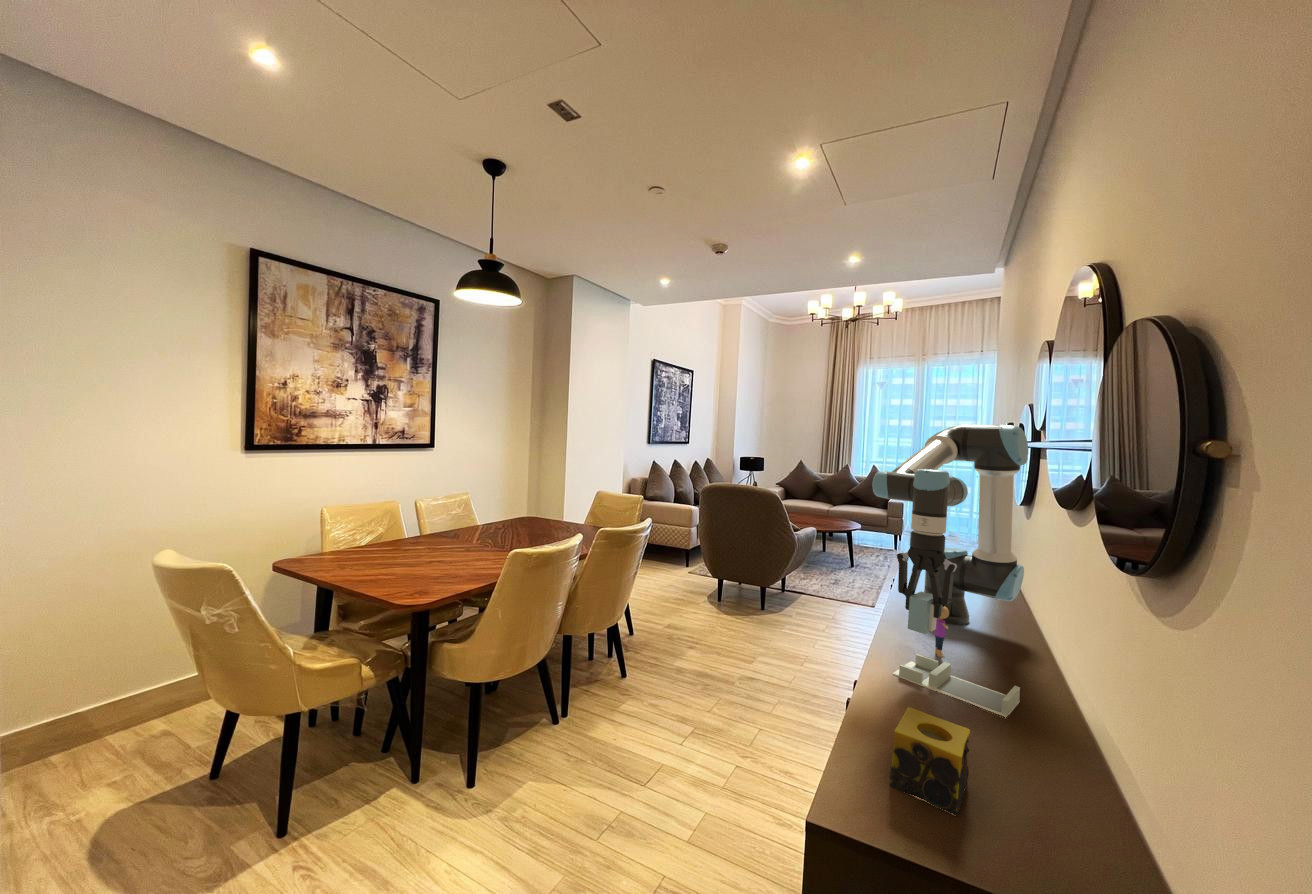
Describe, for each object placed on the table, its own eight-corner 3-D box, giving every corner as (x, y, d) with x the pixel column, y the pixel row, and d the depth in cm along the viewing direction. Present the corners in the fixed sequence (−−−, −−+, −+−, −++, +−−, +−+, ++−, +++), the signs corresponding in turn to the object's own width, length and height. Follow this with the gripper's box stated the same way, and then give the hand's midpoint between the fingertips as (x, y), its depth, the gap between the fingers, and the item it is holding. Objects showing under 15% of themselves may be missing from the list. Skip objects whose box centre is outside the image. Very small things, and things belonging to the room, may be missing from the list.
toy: (953, 665, 131) (956, 608, 130) (930, 662, 132) (933, 605, 131) (938, 648, 141) (942, 595, 140) (917, 646, 142) (921, 593, 141)
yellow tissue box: (903, 759, 91) (906, 705, 90) (968, 786, 84) (972, 728, 84) (887, 788, 83) (891, 729, 82) (958, 821, 76) (962, 756, 76)
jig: (910, 663, 130) (911, 649, 130) (1019, 702, 113) (1020, 686, 113) (892, 675, 123) (893, 661, 123) (1006, 719, 106) (1007, 702, 105)
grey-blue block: (918, 622, 127) (920, 591, 127) (935, 627, 124) (937, 595, 124) (907, 628, 123) (909, 596, 122) (925, 634, 120) (927, 601, 119)
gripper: (886, 527, 127) (880, 619, 127) (961, 540, 114) (955, 642, 115) (898, 525, 132) (893, 613, 132) (972, 537, 119) (965, 634, 120)
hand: (921, 626), depth 123 cm, fingers closed on grey-blue block, 4 cm apart
